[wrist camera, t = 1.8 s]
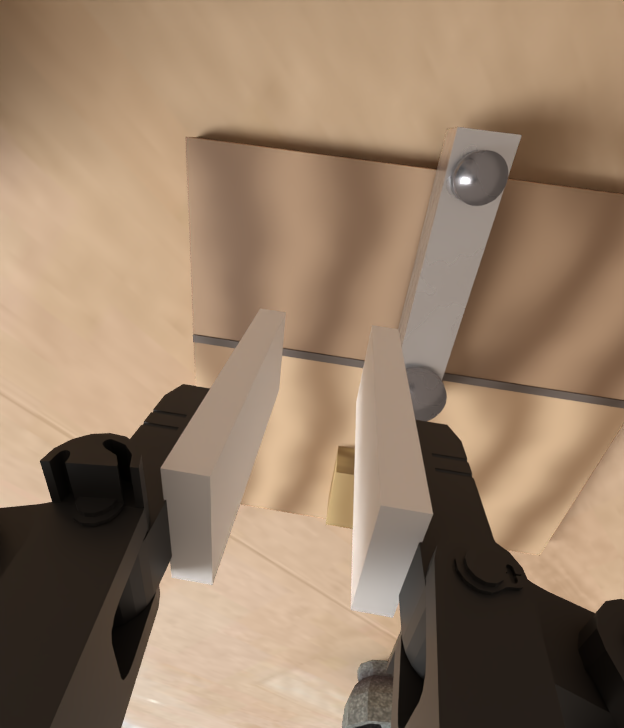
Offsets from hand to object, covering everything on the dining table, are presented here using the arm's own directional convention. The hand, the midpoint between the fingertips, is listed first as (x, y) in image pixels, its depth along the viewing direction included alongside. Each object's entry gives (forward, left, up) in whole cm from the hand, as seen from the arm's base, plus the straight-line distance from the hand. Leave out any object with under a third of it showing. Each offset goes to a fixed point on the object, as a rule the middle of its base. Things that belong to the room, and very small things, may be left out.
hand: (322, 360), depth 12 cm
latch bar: (+6, -2, -15) cm, 16 cm away
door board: (+6, -10, -17) cm, 20 cm away
